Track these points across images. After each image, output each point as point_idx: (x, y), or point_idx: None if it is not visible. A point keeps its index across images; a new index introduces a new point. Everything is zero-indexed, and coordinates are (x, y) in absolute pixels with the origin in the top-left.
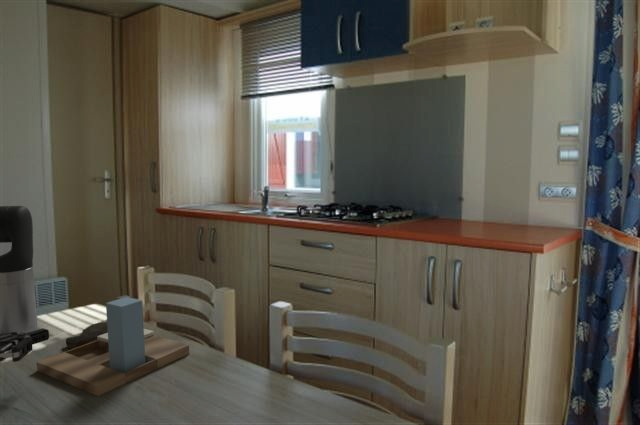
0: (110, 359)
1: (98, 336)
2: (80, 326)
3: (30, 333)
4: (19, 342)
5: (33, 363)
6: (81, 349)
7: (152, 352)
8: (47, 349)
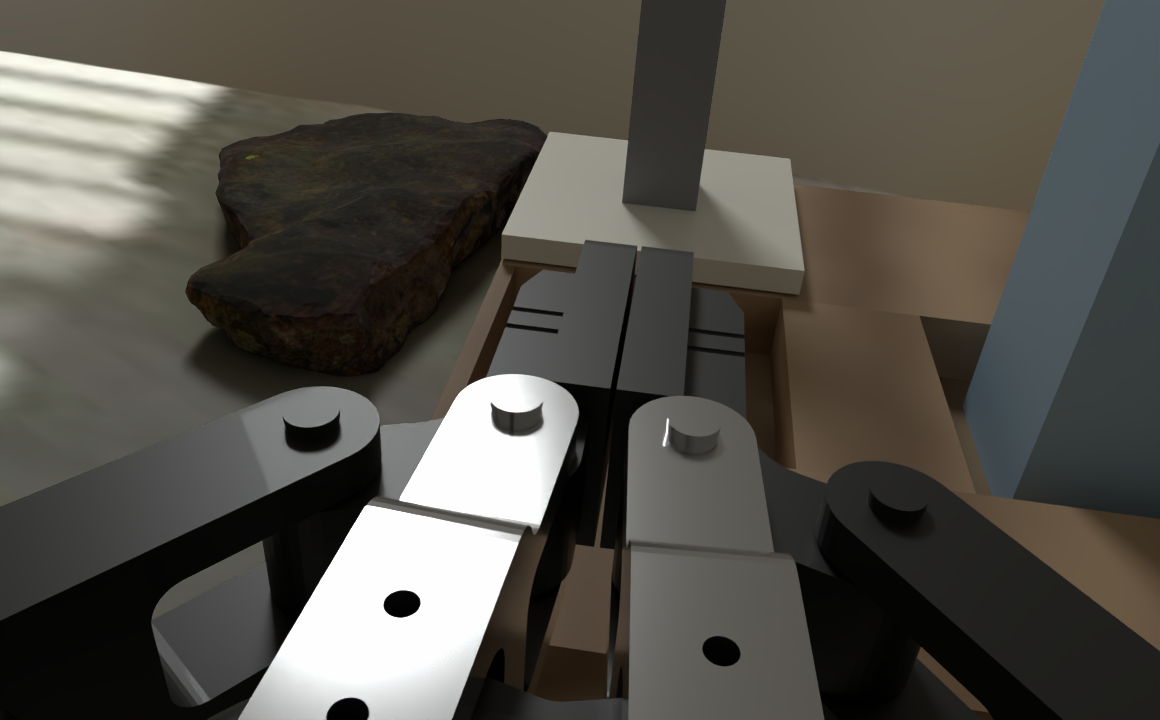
0: (1058, 433)
1: (513, 235)
2: (70, 176)
3: (629, 369)
4: (1073, 717)
5: None
6: (486, 359)
7: None
8: (66, 392)
